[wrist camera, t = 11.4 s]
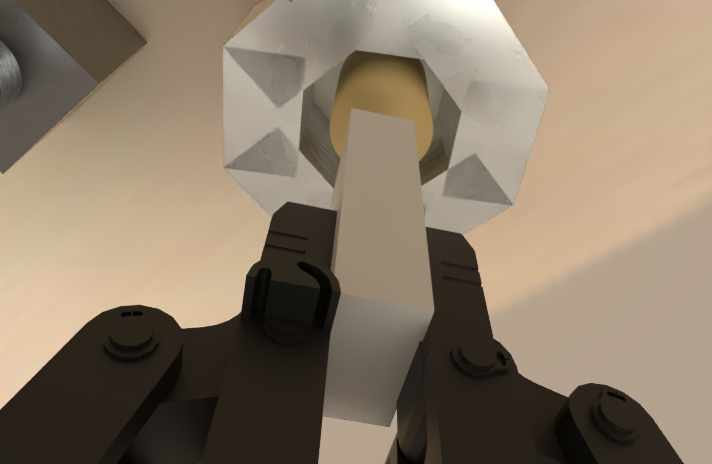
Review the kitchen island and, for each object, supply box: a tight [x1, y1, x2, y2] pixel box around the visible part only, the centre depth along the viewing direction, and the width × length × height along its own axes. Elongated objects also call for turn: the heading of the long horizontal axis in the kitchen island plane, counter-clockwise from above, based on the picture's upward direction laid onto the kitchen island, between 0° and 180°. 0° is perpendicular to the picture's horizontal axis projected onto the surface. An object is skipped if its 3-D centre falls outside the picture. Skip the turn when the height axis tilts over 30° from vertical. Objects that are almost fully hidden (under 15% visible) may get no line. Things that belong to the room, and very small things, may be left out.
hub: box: [313, 50, 445, 161], centre depth 21 cm, size 6×6×9 cm
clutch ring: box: [223, 0, 550, 235], centre depth 19 cm, size 9×9×4 cm
